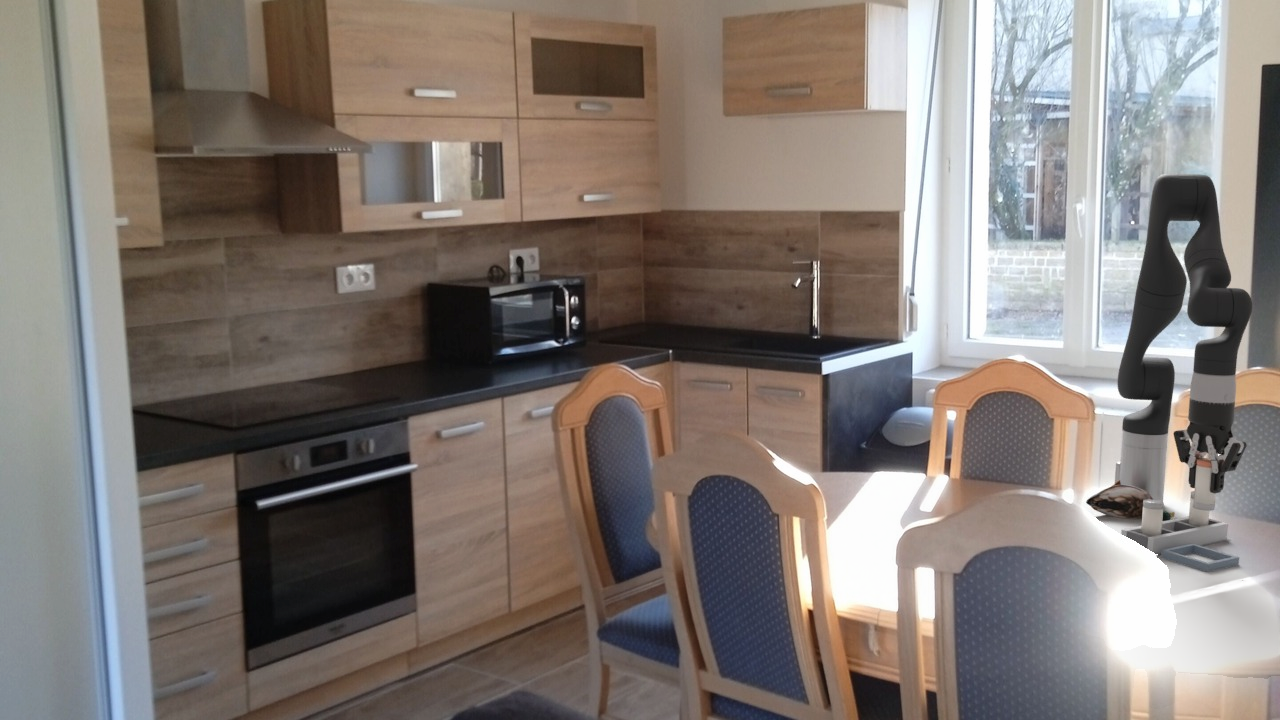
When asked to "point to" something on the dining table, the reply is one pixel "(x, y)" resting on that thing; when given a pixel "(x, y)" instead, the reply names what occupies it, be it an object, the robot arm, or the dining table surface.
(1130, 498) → the decorative duck model
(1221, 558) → the tray
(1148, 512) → the fuse
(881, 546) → the dining table surface
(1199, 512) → the white domed part
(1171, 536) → the grey compartment rack
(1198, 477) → the cylinder
